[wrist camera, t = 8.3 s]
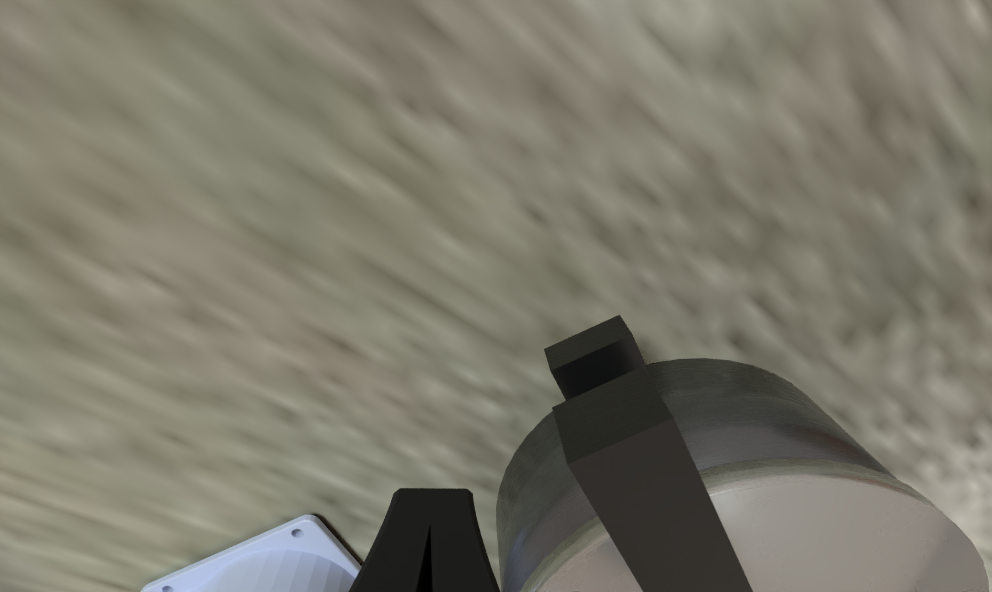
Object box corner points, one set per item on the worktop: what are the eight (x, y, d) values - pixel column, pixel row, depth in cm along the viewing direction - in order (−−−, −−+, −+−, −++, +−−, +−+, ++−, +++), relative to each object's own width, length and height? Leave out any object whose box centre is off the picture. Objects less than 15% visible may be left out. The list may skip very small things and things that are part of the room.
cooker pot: (575, 657, 28) (603, 799, 22) (369, 365, 20) (334, 476, 14) (863, 550, 26) (972, 679, 20) (763, 178, 18) (897, 224, 12)
